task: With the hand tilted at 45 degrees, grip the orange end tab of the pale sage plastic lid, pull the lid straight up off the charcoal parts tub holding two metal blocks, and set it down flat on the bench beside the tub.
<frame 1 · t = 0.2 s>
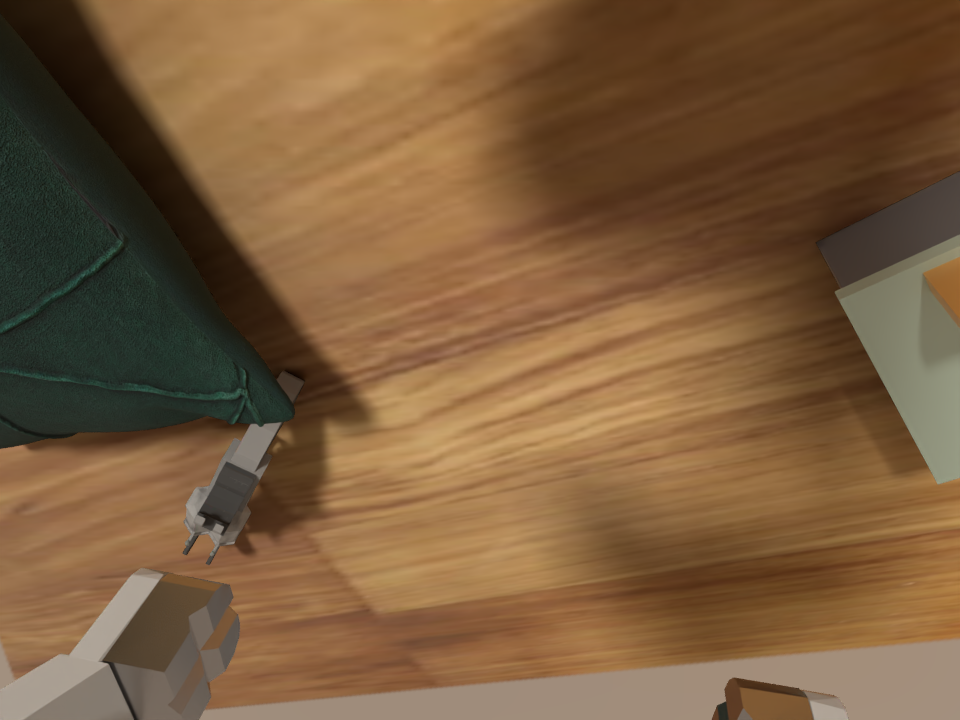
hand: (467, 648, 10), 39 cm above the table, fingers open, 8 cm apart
grey mechanical piece: (252, 454, 70), on the table
tub: (957, 290, 47), on the table
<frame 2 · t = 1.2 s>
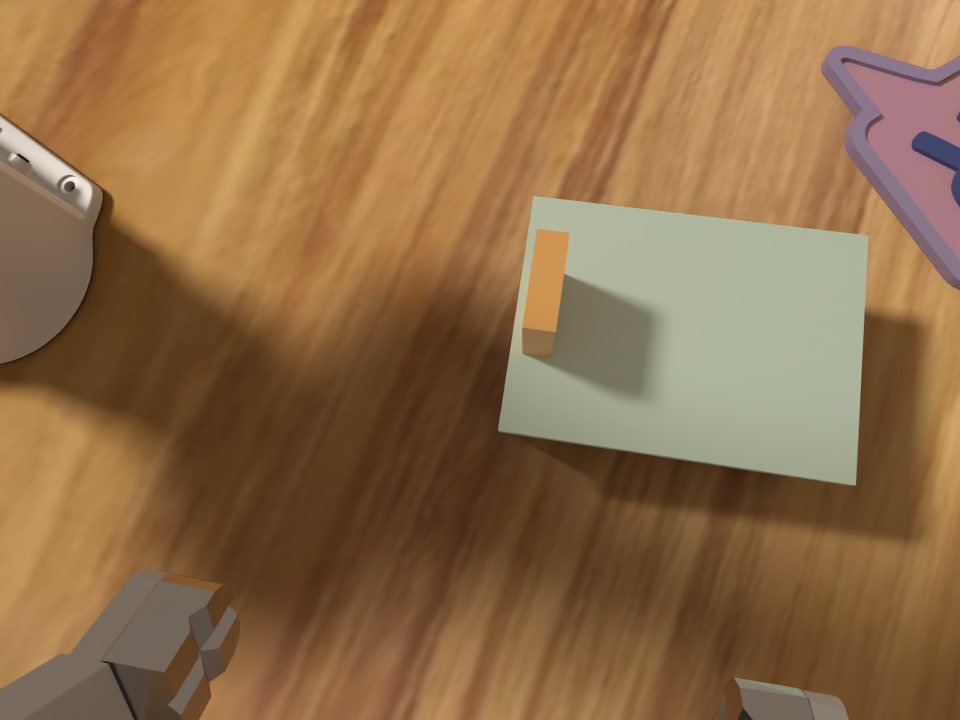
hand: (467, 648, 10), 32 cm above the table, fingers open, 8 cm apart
lid: (680, 336, 37), point 7 cm above the table, touching tub
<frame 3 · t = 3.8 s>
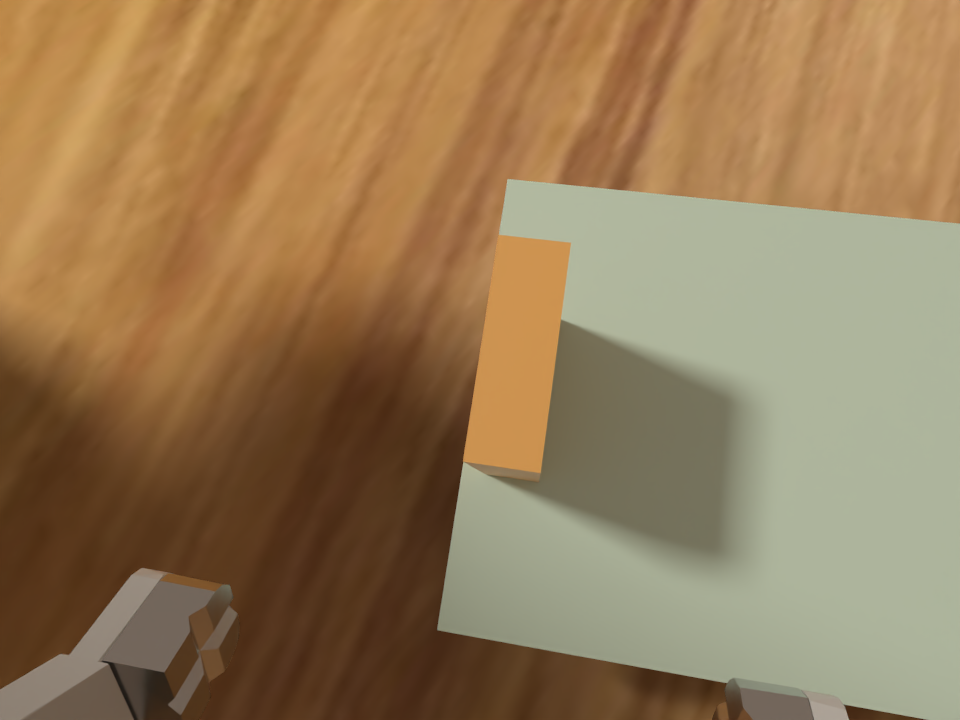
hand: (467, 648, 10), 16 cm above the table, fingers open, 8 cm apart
lid: (786, 436, 19), point 7 cm above the table, touching tub
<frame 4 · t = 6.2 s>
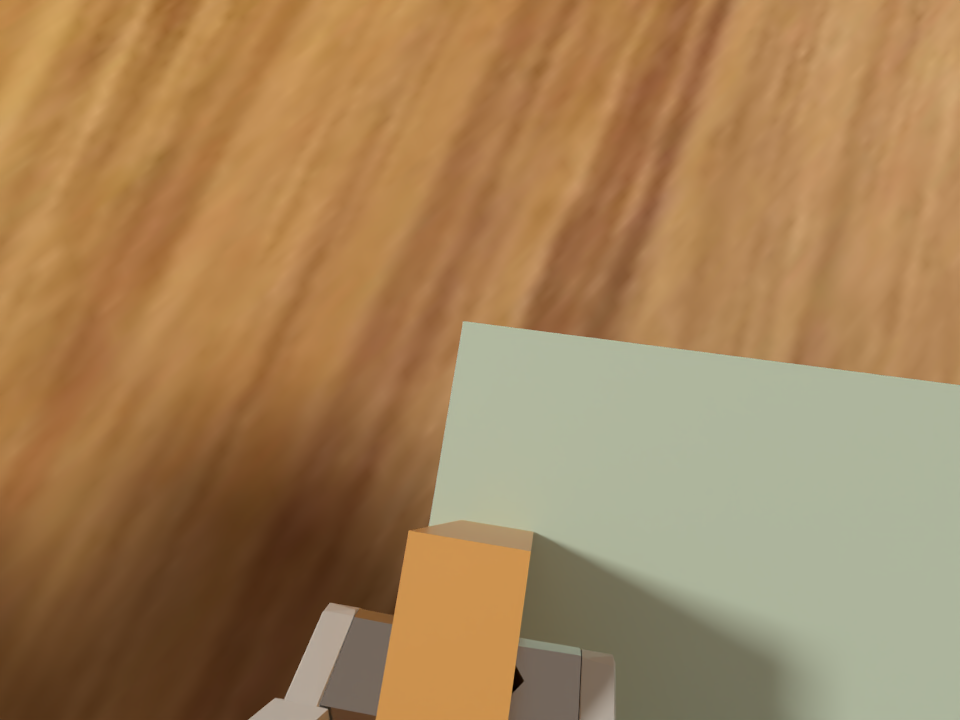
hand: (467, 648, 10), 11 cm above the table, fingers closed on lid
lid: (855, 706, 14), point 7 cm above the table, touching gripper, tub
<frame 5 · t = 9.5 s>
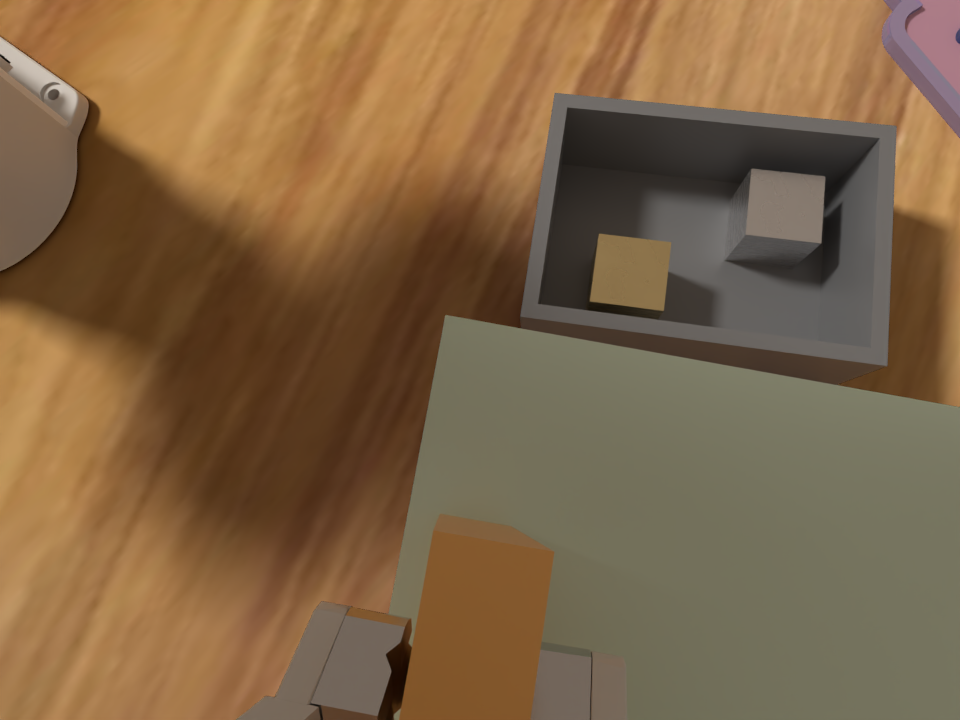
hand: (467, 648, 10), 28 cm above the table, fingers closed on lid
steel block: (760, 234, 39), point 1 cm above the table, touching tub
tub: (679, 267, 40), on the table
brass block: (620, 293, 39), point 1 cm above the table, touching tub
lid: (797, 688, 15), point 22 cm above the table, tilted 7°, touching gripper
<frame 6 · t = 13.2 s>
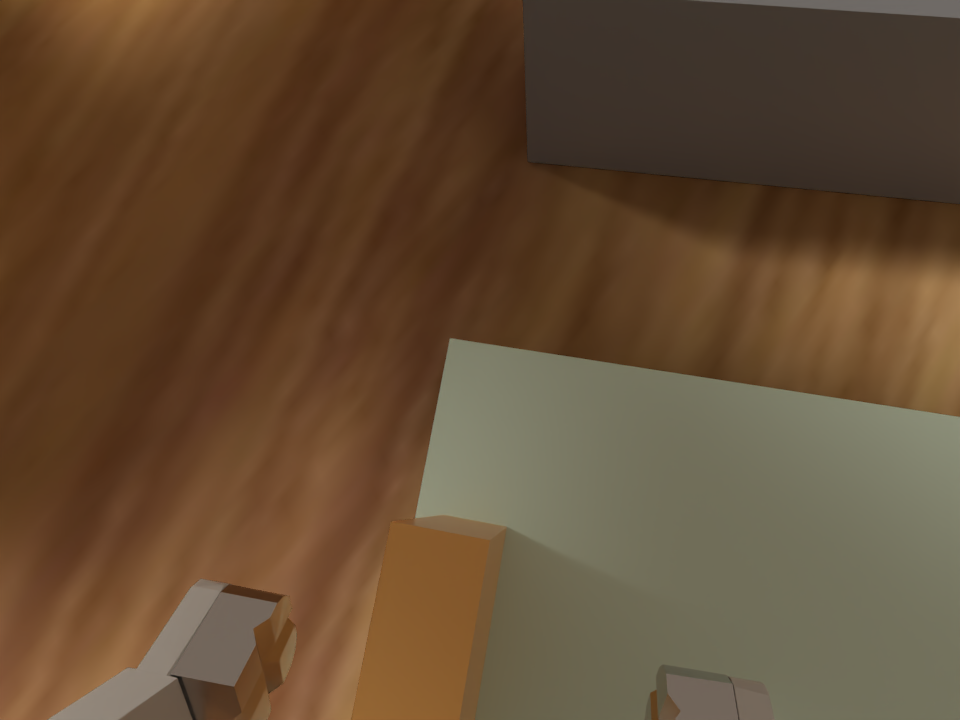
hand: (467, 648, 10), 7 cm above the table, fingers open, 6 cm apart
tub: (835, 5, 21), on the table
lid: (785, 686, 15), point 1 cm above the table
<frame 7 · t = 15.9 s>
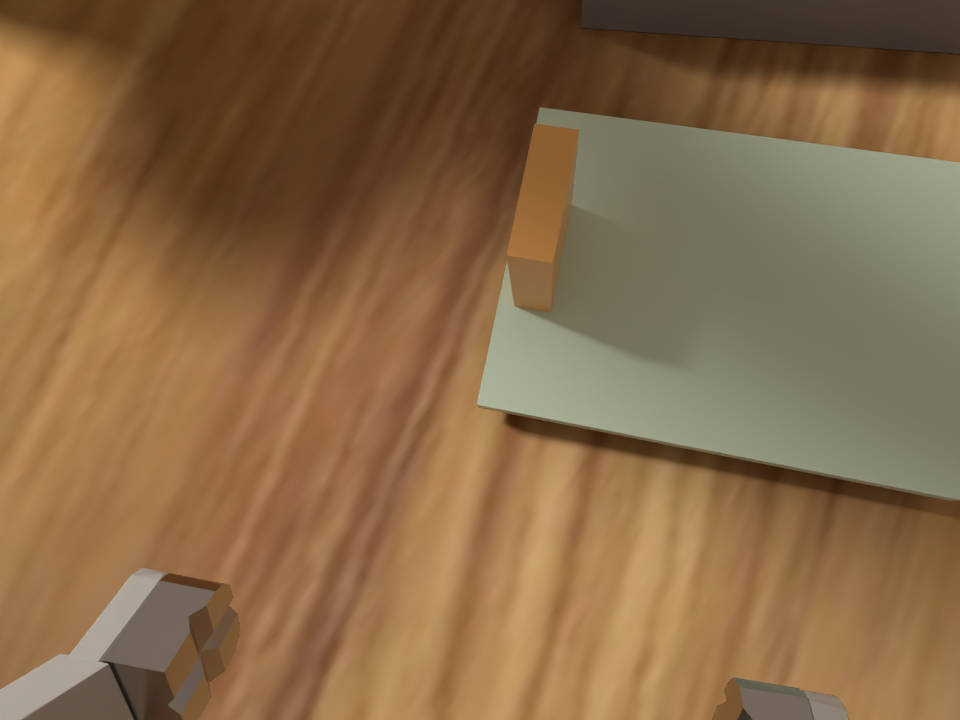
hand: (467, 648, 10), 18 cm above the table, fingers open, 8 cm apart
lid: (725, 292, 28), point 1 cm above the table
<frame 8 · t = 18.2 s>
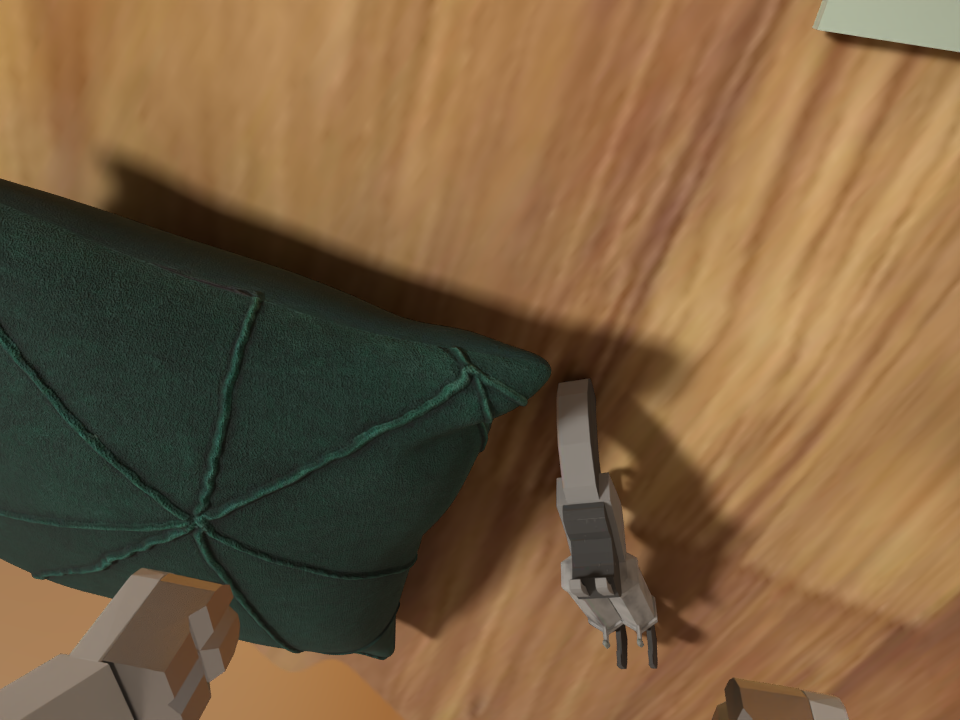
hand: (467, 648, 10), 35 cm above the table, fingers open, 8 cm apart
pillow: (239, 402, 57), on the table
grey mechanical piece: (609, 510, 56), on the table
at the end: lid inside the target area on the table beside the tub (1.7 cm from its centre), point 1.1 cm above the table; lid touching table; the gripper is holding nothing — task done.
